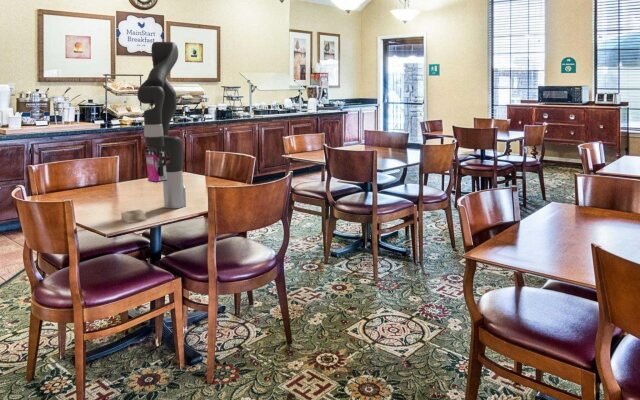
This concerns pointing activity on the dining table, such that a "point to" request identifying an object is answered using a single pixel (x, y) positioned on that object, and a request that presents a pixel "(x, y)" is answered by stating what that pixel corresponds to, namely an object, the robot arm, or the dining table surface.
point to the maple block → (133, 216)
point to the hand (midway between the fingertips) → (156, 174)
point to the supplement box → (154, 169)
